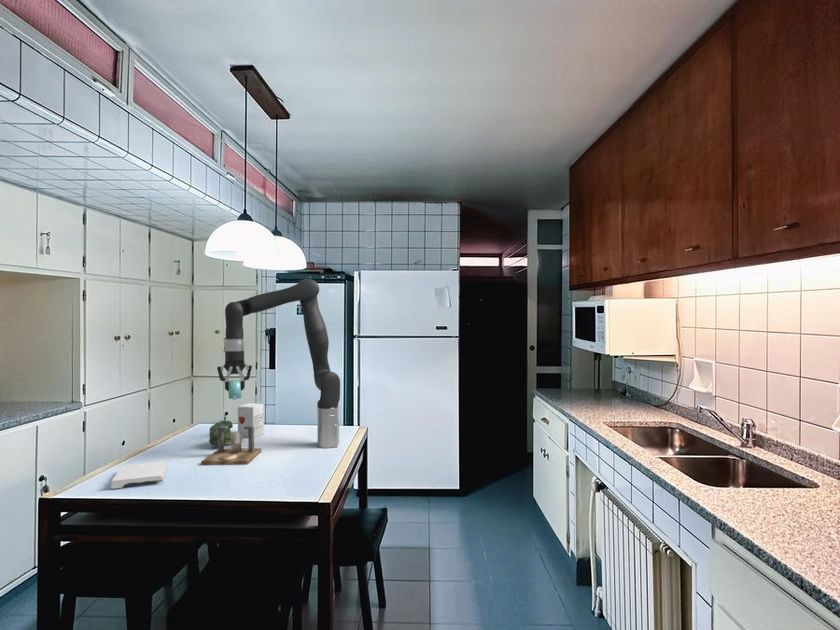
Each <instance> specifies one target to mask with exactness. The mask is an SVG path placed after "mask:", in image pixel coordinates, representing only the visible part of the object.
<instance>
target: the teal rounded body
mask: <svg viewBox="0 0 840 630" xmlns="http://www.w3.org/2000/svg"><path fill="white" fill-rule="evenodd" d="M228 383H229V391H228V399H230V400H234V401H235V400H236V401H237V400H238V399H241V398H242V390H241V379H240V380H238V379H234V380H228Z"/></svg>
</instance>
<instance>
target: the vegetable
mask: <svg viewBox="0 0 840 630" xmlns="http://www.w3.org/2000/svg"><path fill="white" fill-rule="evenodd" d="M220 426H228V429H224V445H226V444H229V443H231V433H232V432H233V431H231V429H232V428H233V426H234V425H233V422H232V421H231V420H219V421H218V422H216V423H214V424H213V425H211V426H210V427H209V434H208V436H209V437H208V438H209V439H208V442H209V444H210V445H212V446H213V447H214V446H215V447H216V448H218V427H220ZM243 439H244V437H243V436H241V443H242V442H243Z"/></svg>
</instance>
